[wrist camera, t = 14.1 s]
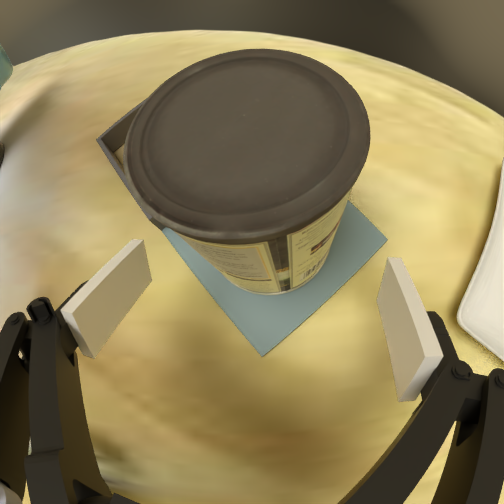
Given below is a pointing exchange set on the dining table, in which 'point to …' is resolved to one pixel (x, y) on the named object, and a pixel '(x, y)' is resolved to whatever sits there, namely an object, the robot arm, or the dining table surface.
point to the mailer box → (255, 305)
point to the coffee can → (251, 162)
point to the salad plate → (488, 288)
